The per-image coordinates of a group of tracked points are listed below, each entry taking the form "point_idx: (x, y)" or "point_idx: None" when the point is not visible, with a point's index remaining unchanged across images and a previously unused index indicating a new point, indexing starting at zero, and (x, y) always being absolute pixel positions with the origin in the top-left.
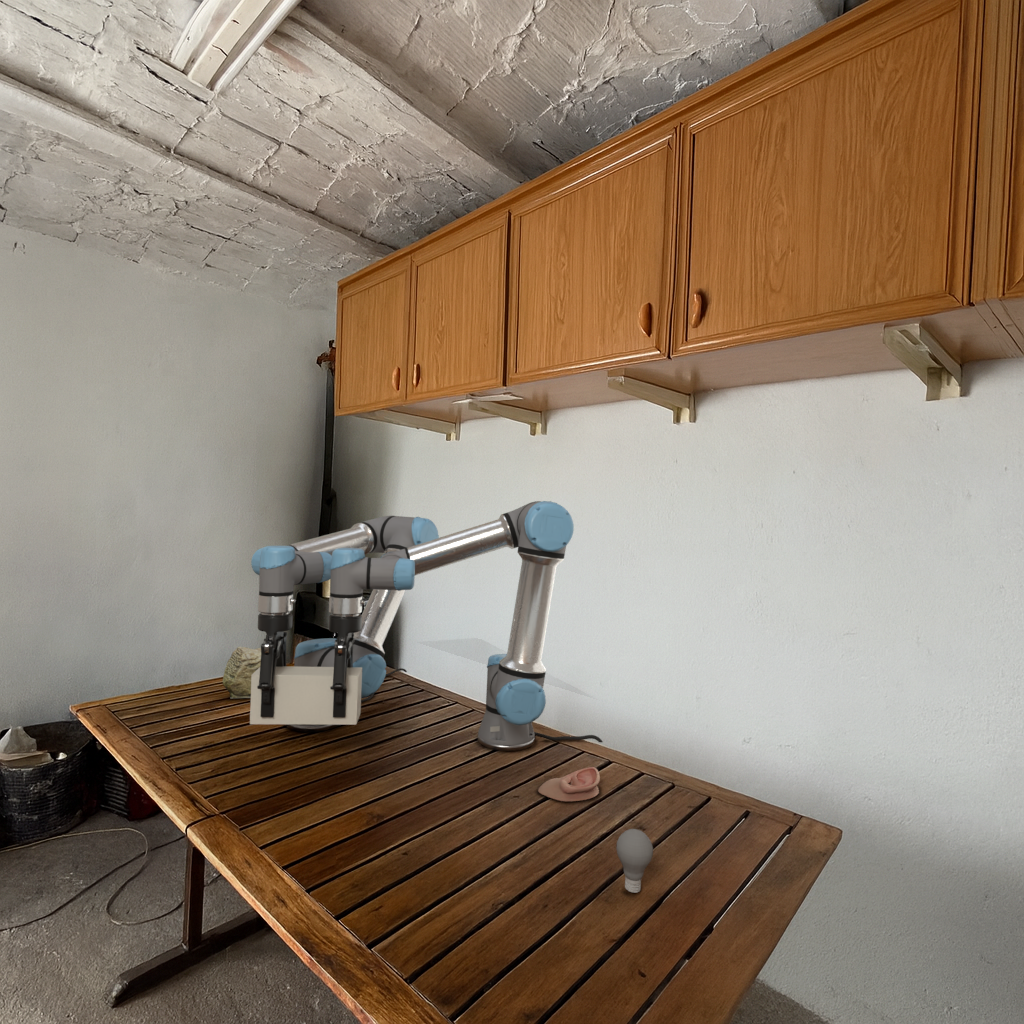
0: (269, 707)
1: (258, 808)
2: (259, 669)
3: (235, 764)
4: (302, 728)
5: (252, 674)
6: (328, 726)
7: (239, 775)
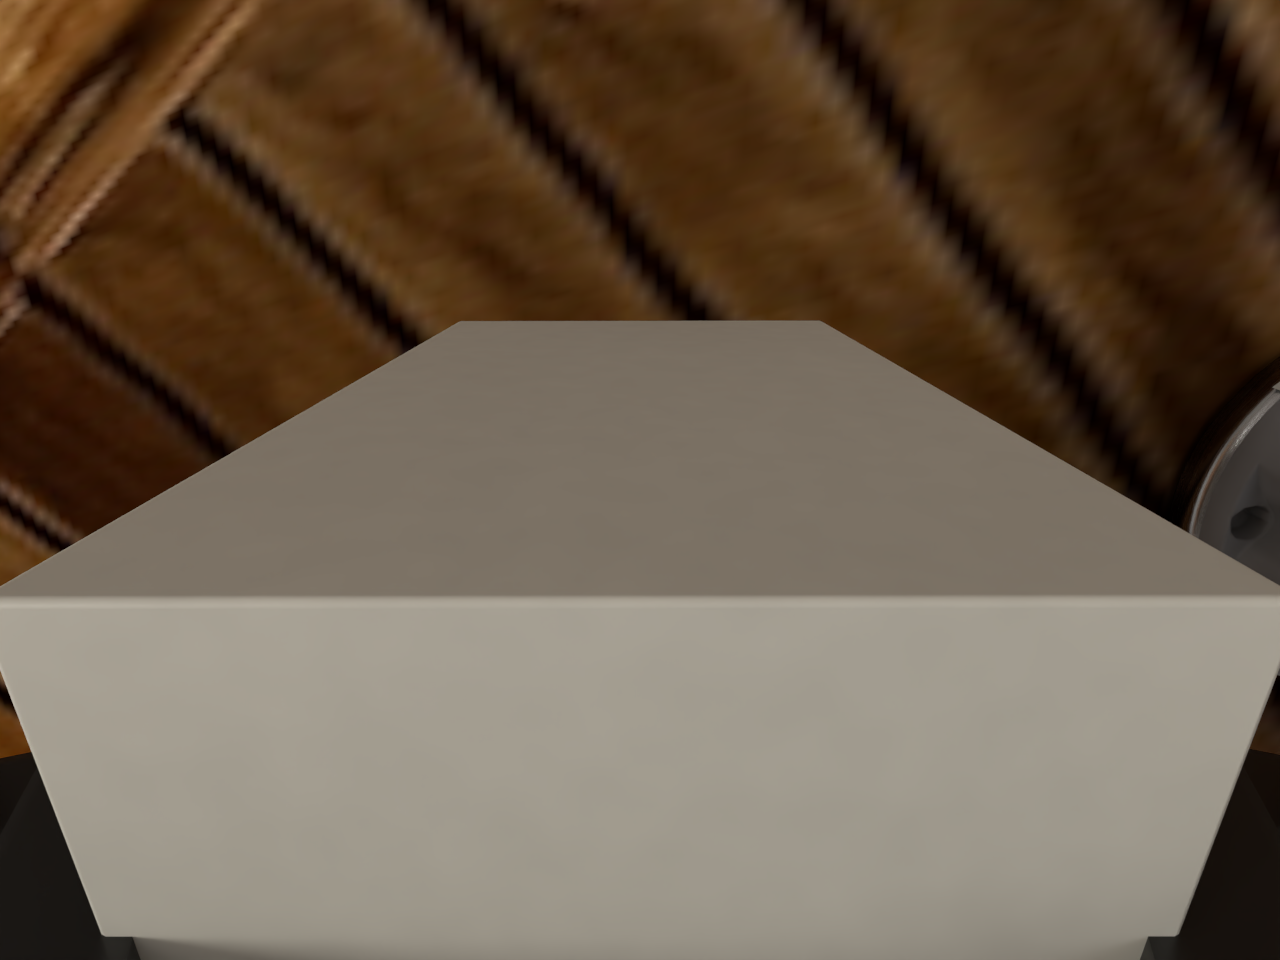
0: None
1: (123, 459)
2: (758, 680)
3: (672, 146)
4: (1206, 463)
5: (20, 625)
6: None
7: (502, 232)
